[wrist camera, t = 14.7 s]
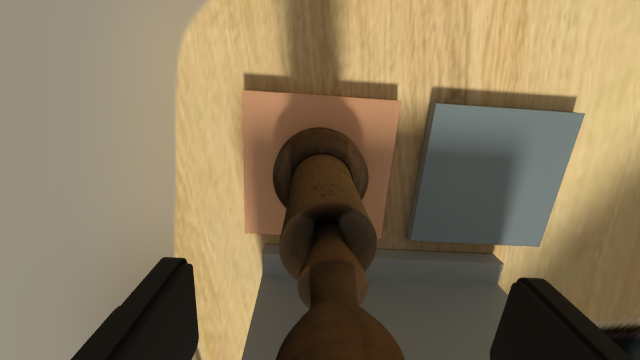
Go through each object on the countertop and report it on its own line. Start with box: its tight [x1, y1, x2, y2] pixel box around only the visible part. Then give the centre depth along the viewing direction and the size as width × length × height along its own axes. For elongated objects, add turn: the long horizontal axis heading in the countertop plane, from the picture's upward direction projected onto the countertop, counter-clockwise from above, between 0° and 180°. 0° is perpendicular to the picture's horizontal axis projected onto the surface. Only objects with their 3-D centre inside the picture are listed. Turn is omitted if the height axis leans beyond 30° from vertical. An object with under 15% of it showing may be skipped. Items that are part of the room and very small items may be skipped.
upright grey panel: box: [242, 244, 508, 360], centre depth 21 cm, size 20×6×12 cm, turn 86°
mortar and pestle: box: [273, 127, 405, 360], centre depth 14 cm, size 7×6×18 cm
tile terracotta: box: [243, 90, 401, 240], centre depth 23 cm, size 11×11×1 cm
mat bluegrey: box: [407, 103, 585, 247], centre depth 24 cm, size 11×11×1 cm
